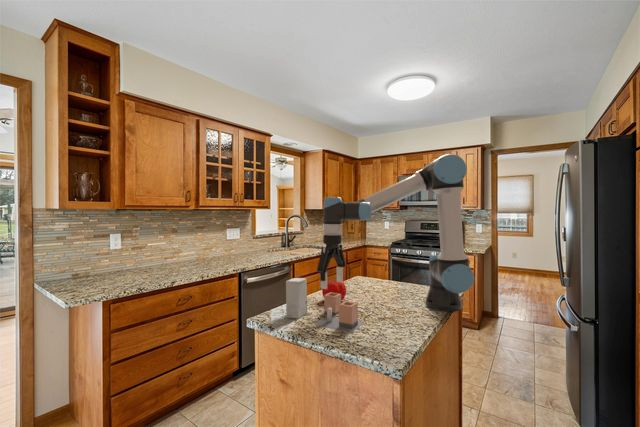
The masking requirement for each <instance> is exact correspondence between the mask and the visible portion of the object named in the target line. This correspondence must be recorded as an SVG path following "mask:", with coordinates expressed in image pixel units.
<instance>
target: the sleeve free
mask: <svg viewBox="0 0 640 427" xmlns="http://www.w3.org/2000/svg"><path fill="white" fill-rule="evenodd" d="M323 302H324V304H323V305H324V309H323V310H324V314H326V315H327V308H332V316H337V315H339V304H341V303H342V300H341V294H338V293H331V292H330V293H328V294H326V295H324V296H323Z"/></svg>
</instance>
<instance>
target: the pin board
mask: <svg viewBox="0 0 640 427" xmlns="http://www.w3.org/2000/svg"><path fill="white" fill-rule="evenodd" d="M364 324H365V321H364V322H363V321H359V320H358V325H357V326H355V327H354V328H353V329H349V328H344V327H340V326H339V316H338V317H337V316H334V315H332V308H327V314H326V316H324V317H322V318H321V319H319V320H318V321H316V322H314V323H313V325H315V326H320V327H323V328H329V329H333V330H337V331H343V332H347V333H351V334H352V333H354V332H355V331H356V330H357V329H359V328H360V327H361V326H362V325H364Z"/></svg>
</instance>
